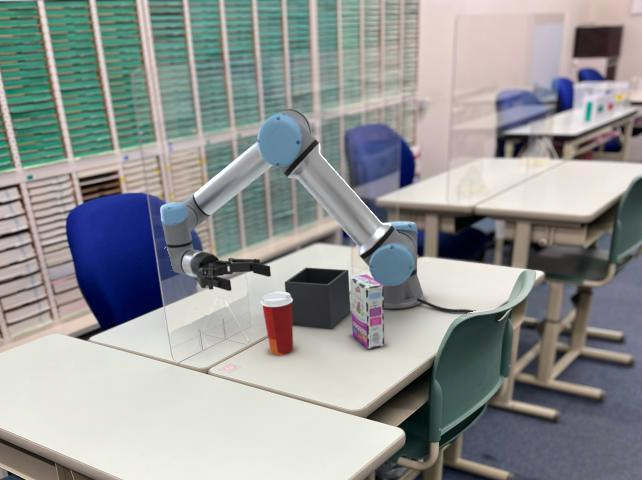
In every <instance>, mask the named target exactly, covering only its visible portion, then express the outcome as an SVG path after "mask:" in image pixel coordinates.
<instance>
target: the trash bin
mask: <svg viewBox="0 0 642 480" xmlns="http://www.w3.org/2000/svg"><path fill="white" fill-rule="evenodd" d="M284 292H288V293H289V294H290V295H291V298H292V299H293V301H292V326H298V327H306V328H317V329H328V330H332V329H333V328H335V326H337V325H338V324H339V323H340V322H342V320H344V319H345V318H346V317H347V316H348V315H349V314H350V313H351V292H350V275H349V269H339V268H338V269H337V268H335V269H334V268H322V267H321V268H319V267H304V268H302V269H301V270H300V271H298V272H297V273H296V274H294V275H292V276H291V277H290V278H288V279H287V280H286V281H284Z"/></svg>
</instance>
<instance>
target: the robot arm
mask: <svg viewBox="0 0 642 480" xmlns="http://www.w3.org/2000/svg"><path fill="white" fill-rule="evenodd" d="M256 139H257V141H256V142H255V143H253V144H252V145H251V146H250V147H249V148H247V149H246V150H245V151H244V152H242V153H241V154H240V155H239V156H238V157H236V158H235V159H234V160H233V161H232V162H231V163H229V164H228V165H226V167H225V168H223V169H222V170H221V171H220V172H219V173H218V174H216V175H215V176H214V177H212V178H211V179H210V180H209V181H207V182H206V183H205V184H204V185H203V186H202V187H200V188H199V189H198V190H197V191H196V192H195V193H193V194H192V195H191V196H190V197H188V198H186V200H185V201H183V202H181V201H173V202H167V203H165V204H162V205H161V206H160V208H159V209H160V210H159V211H160V221H161V224H162V225H161V226H162V230H163V234H164V240H165V248H166V247H167V251H168V254H169V257H170V261H171V266H172V269H173V271H174V272H173V271H172V272H173V273H175V274H181V275H185V276H189V277H192V278H193V280H194V281H197V283H198V284H199V286H200V288H201V289H206V288H207V287H208V290H210V291H211V290H214V288H217V289H221V290H225V291H228V292H232V283H231V279H228V278H225V277H224V276H225V275H233V273H249V272H252V273H253V274H256V275H261V276H264V277H267V278H269V277H272V273H271V272H272V271H271V266H270V265H267V264H263V263H261V259H259V258H234V257H229V258H227V259H228V260H222V259H219V258H218V257H217V256H216V255H215V254H214V253H210V252H206V251H203V250H199V249H194V246H193V237H192V231H193V230H194V229H195V228H197V227H198V226H200V225H201V224H203V223H204V222H205V220H207V219H208V218H209V217H211V215H213V214H214V213H216V211H218V210H219V209H220V208H222V207H223V206H224V205H226V203H228V202H229V201H230V200H231V199H233V198H234V197H235V196H237V195H239V193H240V192H242V191H244V189H245V188H247V187H248V186H249V185H251V184H252V183H253V182H255V181H256V180H257V179H259V177H261V176H262V175H263V174H264V173H266V172H267V171H268V170H270V169H271V168H272V167H276V168H278V169H279V170H280V171H281V172H282V173H283V174H284V175H285V176H286V178H287V179H295V180H297V181H298V182H299V183H300V184H301V185H302V186H303V187H304V188H305V190H306V191H307V193H309V194H310V195H311V196H312V197H313V198H314V200H315V201H317V203H318V205H320V206H321V207H322V208H323V209H324V210H325V211H326V213H327V214H328V215H329V216H330V217H331V218H332V219H333V220H334V221H335V223H336V224H337V225H338V226H339V227H340V228H341V229H342V231H344V233H346V235H347V236H348V237H349V238H350V239H351V240H352V241H353V242H354V243H355V245H356V246H357V248H358V256H359V257H360V259H362V261H363V262H364V263H365V264H366V265H367V266H368V271H369V272H370V275H371V278H373V279H374V280H376V281H377V282H379V283H380V284H382V285H384V287H383V290H384V310H385V309H386V310H404V309H405V310H406V309H409V308H414V307H416V306H419V305H420V304H423V305H425V306H428V307H431V308H432V309H435V310H438V311H442V312H446V313H461V314H462V313H464V314H465V313H466V314H469V313H468V312H473V311H476V309H474V310H473V309H467V308H466V309H465V308H456V309H455V308H448V307H441V306H438V305H436V304H433V303H431V302H429V301H427V300H424V292H423V288H422V285H421V283H420V279H419V276H418V234H419V231H418V225H417V223H416V222H413V221H403V220H401V221H400V220H399V221H387V222H386V221H385V222H382V221H381V220H380V219H379V218H378V217H377V216H376V215H375V214H374V212H373V211H372V210H371V209H370V208H369V206H367V205H366V204H365V202H364V201H363V200H362V199H361V198H360V196H358V194H357V193H356V192H355V191H354V190H353V189H352V188H351V186H350V185H349V184H348V183H347V182H346V181H345V179H344V178H342V176H341V175H340V174H339V173H338V172H337V171H336V170H335V168H334V167H333V166H332V165H331V164H330V163H329V162H328V161H327V159H326V158H325V157H324V156H323V155H322V154H321V143H320V142H319V141H318V140H317V139H316V138H315V136H313V133H312V126H311V122H310V121H309V119H308V117H307V116H306V114H304V113H303V112H301V111H300V110H297V109H294V108H285V109H282V110H280V111H278V112H276V113H274V114H271V115H270V116H268V117H267V118H266V119H265V120H264V122H263V123H262V124H261V126H260V127H259V130H258V133H257V138H256ZM169 247H170V248H169ZM222 276H223V277H222Z"/></svg>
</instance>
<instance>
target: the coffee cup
mask: <svg viewBox="0 0 642 480" xmlns="http://www.w3.org/2000/svg"><path fill="white" fill-rule="evenodd" d="M292 301H293V299H292V298H291V295H290V294H289V293H288V292H285V291H281V290H279V291H272V292H268V293H265V294H263V296H262V298H261V300H260V305H261V306H262V310H263V316H264V320H265V321H264V322H265V327H266V333H267V338H268V344H269V350H270V353H271V354H273V355H275V356H284V355H288V354H290V353H292V352H293V351H294V332H293V330H294V329H293V328H294V327H293V325H292Z"/></svg>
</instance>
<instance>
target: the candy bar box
mask: <svg viewBox="0 0 642 480" xmlns="http://www.w3.org/2000/svg"><path fill="white" fill-rule="evenodd" d="M349 280H350V306H351V325H352V327H351V328H352V330H351V331H352V337H353V338H355V339H356V340H357V341H358V343H360V344H362V346H364V347H365V348H366V349H367V350H371V349H376V348H382V347H384V346H385V316H384V315H385V308H384V290H383V287H384V285H382V284H380V283H379V282H377V281H376V280H375V279H374V278H373V277H372V276H369V275H368V274H362V275H361V274H360V275H356V276H351V277H349Z"/></svg>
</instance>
